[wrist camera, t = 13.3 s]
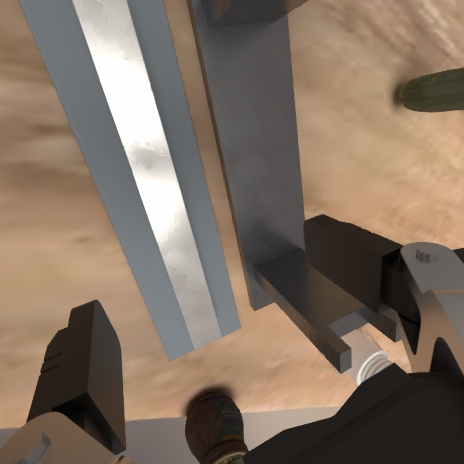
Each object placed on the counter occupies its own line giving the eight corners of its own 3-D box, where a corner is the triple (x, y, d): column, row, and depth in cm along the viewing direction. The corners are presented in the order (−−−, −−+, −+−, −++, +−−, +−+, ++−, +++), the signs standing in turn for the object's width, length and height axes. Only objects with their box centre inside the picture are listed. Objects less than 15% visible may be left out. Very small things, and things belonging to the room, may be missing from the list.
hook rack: (172, -68, 19) (283, -433, 7) (272, -72, 21) (499, -354, 9) (250, 306, 34) (332, 414, 21) (305, 282, 36) (409, 366, 23)
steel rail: (55, -48, 17) (44, -79, 14) (105, -50, 18) (103, -80, 15) (188, 330, 31) (194, 349, 28) (213, 319, 31) (221, 337, 29)
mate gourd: (242, 397, 39) (278, 475, 30) (201, 433, 38) (226, 524, 30) (213, 375, 35) (244, 458, 27) (167, 416, 35) (184, 513, 26)
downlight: (320, 365, 43) (374, 423, 35) (313, 336, 40) (370, 391, 32) (358, 338, 45) (417, 387, 37) (354, 308, 42) (418, 353, 34)
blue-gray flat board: (-27, -110, 15) (-32, -118, 15) (134, -109, 18) (134, -116, 17) (168, 357, 32) (169, 361, 31) (239, 325, 34) (241, 328, 33)
